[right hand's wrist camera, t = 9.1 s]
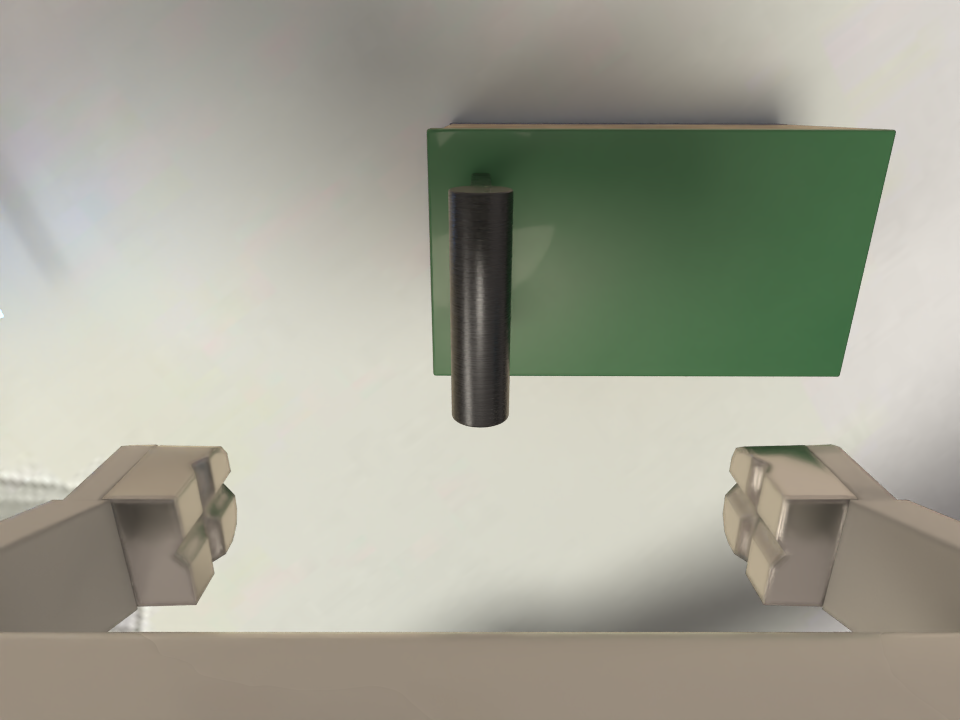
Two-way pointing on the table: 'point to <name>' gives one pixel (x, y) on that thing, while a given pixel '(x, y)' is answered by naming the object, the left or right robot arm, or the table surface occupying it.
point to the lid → (644, 253)
